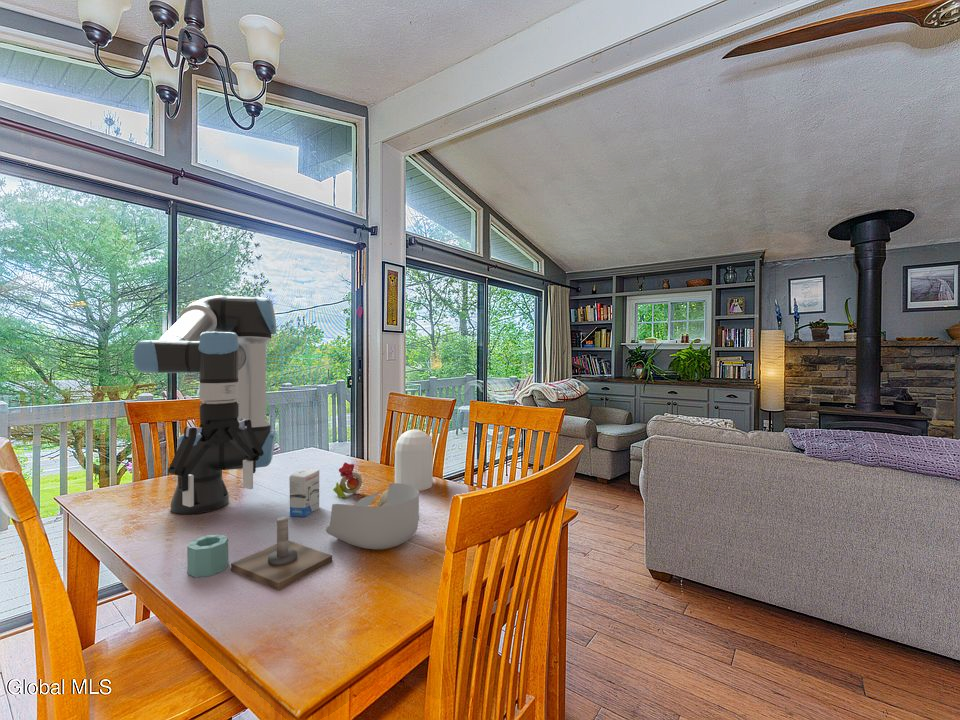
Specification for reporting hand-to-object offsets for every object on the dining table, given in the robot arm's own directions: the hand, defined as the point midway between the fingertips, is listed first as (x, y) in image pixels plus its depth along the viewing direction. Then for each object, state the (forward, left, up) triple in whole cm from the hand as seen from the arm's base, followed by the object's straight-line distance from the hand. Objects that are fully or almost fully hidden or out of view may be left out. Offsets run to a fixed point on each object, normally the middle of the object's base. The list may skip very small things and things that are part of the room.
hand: (219, 496), depth 101 cm
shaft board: (+12, +7, -16) cm, 21 cm away
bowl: (+21, +29, -16) cm, 39 cm away
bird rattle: (-11, +49, -16) cm, 52 cm away
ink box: (-11, +32, -16) cm, 37 cm away
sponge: (+12, +45, -16) cm, 49 cm away
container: (+1, +69, -16) cm, 71 cm away
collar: (-1, -2, -16) cm, 16 cm away
